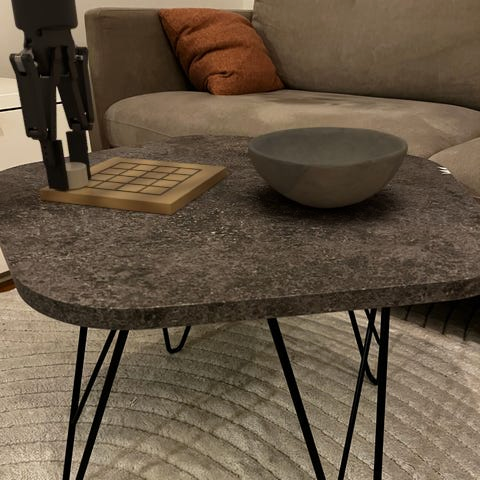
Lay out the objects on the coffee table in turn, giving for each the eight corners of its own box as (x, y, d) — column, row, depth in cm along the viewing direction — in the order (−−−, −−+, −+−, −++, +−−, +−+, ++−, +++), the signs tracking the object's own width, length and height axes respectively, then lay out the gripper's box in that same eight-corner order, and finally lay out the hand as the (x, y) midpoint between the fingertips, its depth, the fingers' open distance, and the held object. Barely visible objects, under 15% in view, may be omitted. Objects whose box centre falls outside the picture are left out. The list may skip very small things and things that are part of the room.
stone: (46, 187, 81) (43, 168, 80) (66, 179, 85) (63, 161, 84) (76, 190, 80) (73, 171, 79) (95, 181, 84) (92, 163, 83)
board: (40, 200, 82) (39, 188, 81) (114, 166, 98) (113, 156, 98) (171, 215, 76) (170, 202, 75) (226, 176, 93) (226, 166, 92)
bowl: (429, 218, 74) (439, 154, 71) (269, 230, 71) (270, 163, 67) (364, 175, 93) (369, 122, 89) (234, 183, 89) (233, 128, 85)
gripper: (20, -8, 63) (55, 204, 74) (107, -7, 78) (126, 170, 89) (-36, -7, 65) (6, 198, 76) (59, -6, 80) (83, 166, 91)
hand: (70, 183), depth 83 cm, fingers closed on stone, 5 cm apart
